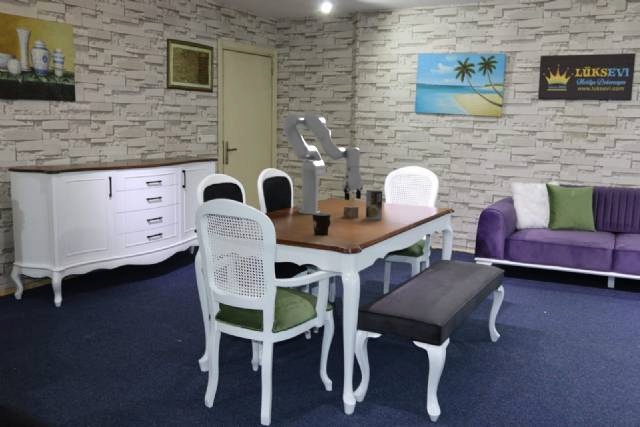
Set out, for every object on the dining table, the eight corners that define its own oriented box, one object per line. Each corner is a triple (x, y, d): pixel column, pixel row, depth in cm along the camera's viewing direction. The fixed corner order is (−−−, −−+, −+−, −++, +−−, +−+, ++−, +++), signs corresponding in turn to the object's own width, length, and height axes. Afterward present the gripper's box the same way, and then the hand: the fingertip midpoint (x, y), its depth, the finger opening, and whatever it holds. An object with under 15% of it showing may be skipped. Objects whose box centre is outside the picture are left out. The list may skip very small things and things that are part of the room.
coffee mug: (311, 232, 290) (311, 212, 289) (328, 233, 291) (329, 212, 289) (313, 237, 279) (313, 216, 277) (331, 237, 279) (332, 216, 278)
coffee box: (381, 218, 343) (382, 190, 341) (381, 220, 337) (382, 191, 334) (365, 217, 344) (366, 189, 342) (365, 219, 338) (366, 191, 335)
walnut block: (343, 217, 344) (343, 206, 343) (350, 216, 349) (350, 206, 348) (351, 218, 340) (351, 208, 339) (358, 217, 344) (358, 207, 344)
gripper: (347, 170, 332) (347, 201, 334) (367, 169, 344) (367, 198, 346) (337, 169, 337) (337, 200, 339) (357, 168, 349) (357, 197, 351)
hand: (352, 199), depth 342 cm, fingers open, 9 cm apart
